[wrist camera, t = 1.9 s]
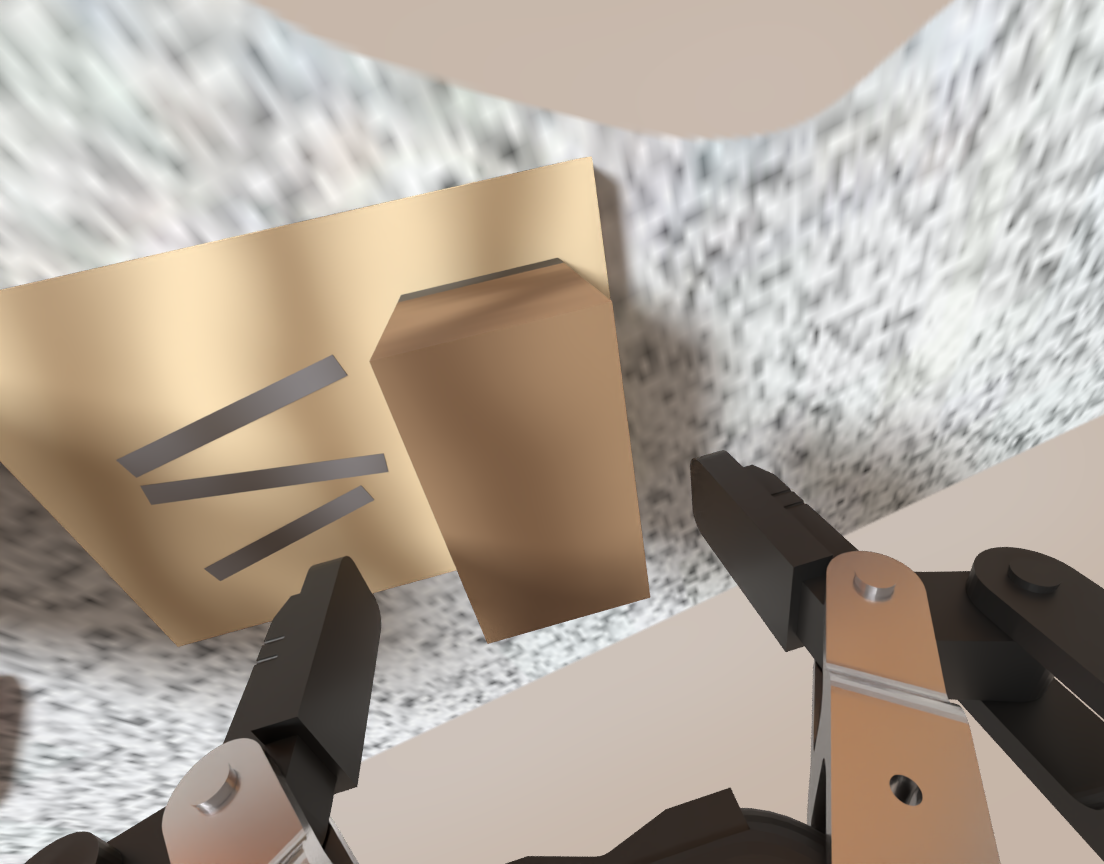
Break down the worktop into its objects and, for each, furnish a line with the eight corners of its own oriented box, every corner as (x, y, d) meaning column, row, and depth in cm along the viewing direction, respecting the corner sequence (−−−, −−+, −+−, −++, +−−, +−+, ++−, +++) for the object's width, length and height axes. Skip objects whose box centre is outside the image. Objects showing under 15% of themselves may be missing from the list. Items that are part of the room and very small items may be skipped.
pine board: (580, 158, 15) (591, 156, 14) (628, 499, 22) (639, 520, 21) (-78, 307, 14) (-136, 321, 12) (195, 617, 21) (177, 647, 19)
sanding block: (557, 257, 15) (612, 301, 10) (598, 483, 19) (650, 597, 14) (401, 295, 14) (369, 361, 9) (479, 515, 19) (487, 643, 14)
